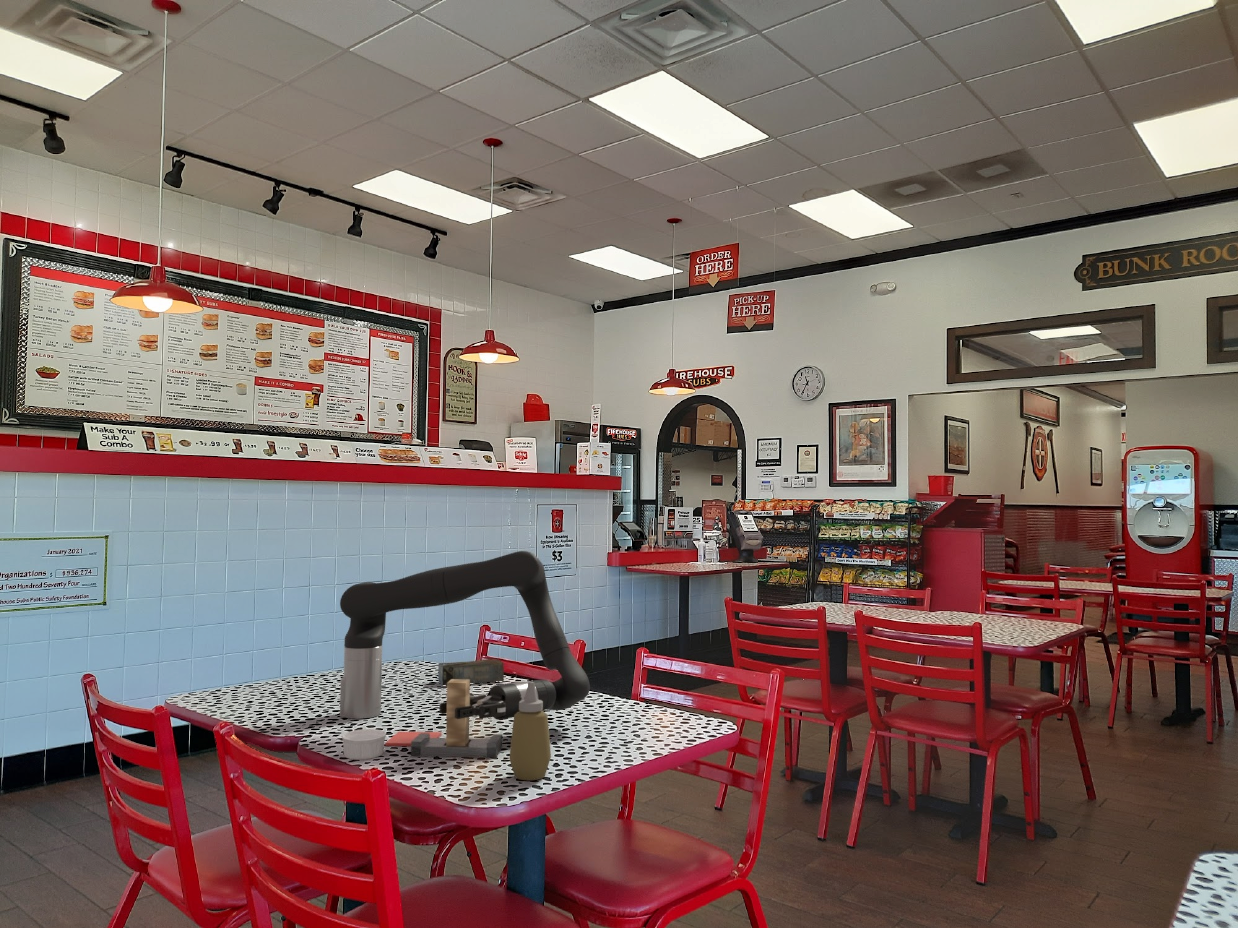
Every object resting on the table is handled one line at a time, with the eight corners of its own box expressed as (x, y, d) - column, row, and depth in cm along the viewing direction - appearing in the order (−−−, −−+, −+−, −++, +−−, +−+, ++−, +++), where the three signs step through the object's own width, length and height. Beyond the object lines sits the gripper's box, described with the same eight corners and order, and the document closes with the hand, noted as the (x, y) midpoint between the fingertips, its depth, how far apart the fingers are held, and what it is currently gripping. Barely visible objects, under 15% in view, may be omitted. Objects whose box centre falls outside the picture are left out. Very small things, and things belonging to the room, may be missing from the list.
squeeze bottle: (544, 784, 160) (545, 687, 161) (503, 781, 161) (504, 685, 162) (555, 771, 167) (556, 679, 169) (516, 769, 169) (517, 677, 170)
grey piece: (411, 755, 178) (411, 741, 178) (420, 746, 185) (420, 732, 185) (496, 757, 177) (496, 742, 177) (502, 748, 184) (502, 734, 184)
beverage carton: (437, 682, 258) (437, 660, 258) (498, 678, 265) (499, 657, 265) (441, 687, 250) (442, 664, 251) (505, 683, 258) (505, 661, 258)
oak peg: (446, 754, 179) (447, 682, 180) (450, 749, 183) (451, 679, 184) (464, 754, 179) (465, 682, 180) (468, 749, 183) (469, 679, 184)
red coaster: (384, 745, 186) (385, 742, 186) (398, 733, 196) (398, 731, 196) (430, 746, 185) (430, 743, 185) (441, 734, 195) (441, 732, 195)
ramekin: (391, 756, 178) (391, 735, 178) (348, 763, 173) (348, 741, 173) (378, 747, 185) (378, 726, 185) (336, 753, 180) (337, 732, 181)
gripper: (495, 678, 197) (430, 688, 185) (532, 687, 186) (466, 698, 175) (494, 711, 196) (430, 722, 185) (532, 722, 186) (466, 735, 174)
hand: (448, 711), depth 180 cm, fingers closed on oak peg, 5 cm apart
